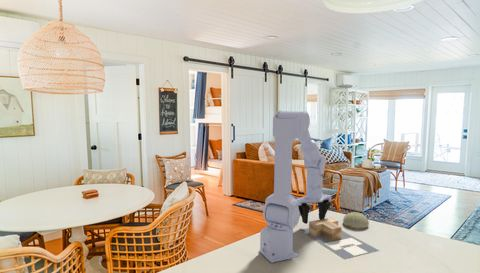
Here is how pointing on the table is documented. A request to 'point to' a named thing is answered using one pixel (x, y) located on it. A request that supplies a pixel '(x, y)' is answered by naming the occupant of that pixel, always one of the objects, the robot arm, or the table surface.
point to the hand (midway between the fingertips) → (313, 221)
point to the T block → (326, 228)
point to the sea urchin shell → (356, 220)
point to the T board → (343, 245)
